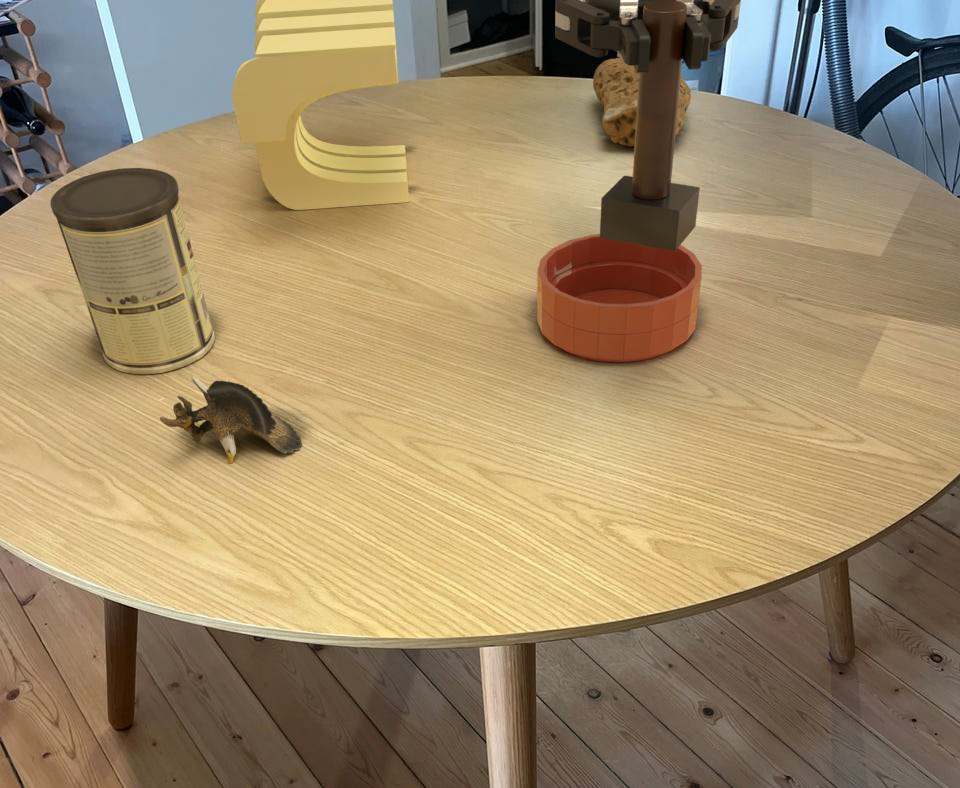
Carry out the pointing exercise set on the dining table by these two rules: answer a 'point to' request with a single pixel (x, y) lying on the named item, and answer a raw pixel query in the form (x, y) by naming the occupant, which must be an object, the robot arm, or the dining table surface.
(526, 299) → the dining table surface
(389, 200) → the slatted curved stool
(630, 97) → the sponge
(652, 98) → the hammer
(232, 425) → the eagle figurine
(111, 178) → the coffee can
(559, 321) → the bowl
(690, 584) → the dining table surface
